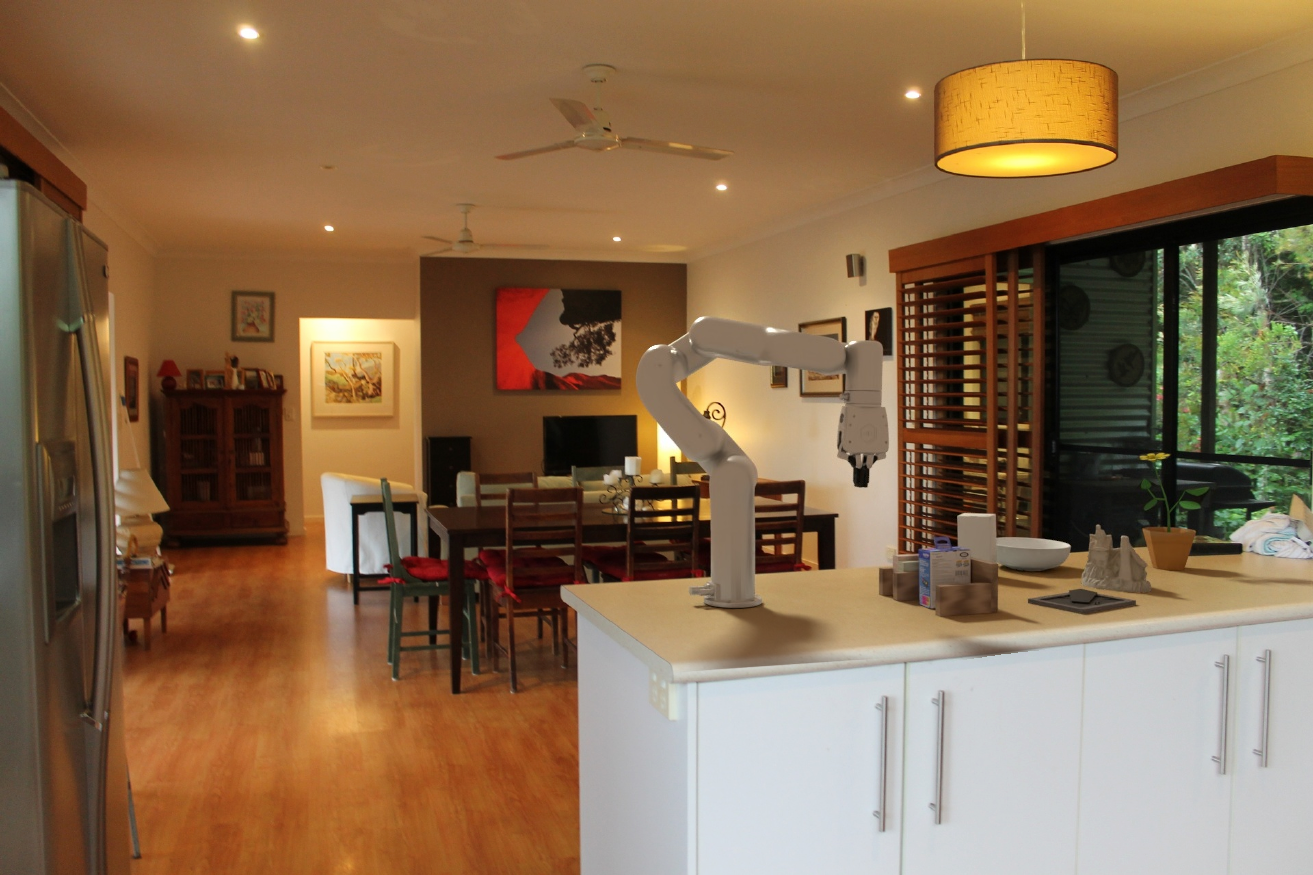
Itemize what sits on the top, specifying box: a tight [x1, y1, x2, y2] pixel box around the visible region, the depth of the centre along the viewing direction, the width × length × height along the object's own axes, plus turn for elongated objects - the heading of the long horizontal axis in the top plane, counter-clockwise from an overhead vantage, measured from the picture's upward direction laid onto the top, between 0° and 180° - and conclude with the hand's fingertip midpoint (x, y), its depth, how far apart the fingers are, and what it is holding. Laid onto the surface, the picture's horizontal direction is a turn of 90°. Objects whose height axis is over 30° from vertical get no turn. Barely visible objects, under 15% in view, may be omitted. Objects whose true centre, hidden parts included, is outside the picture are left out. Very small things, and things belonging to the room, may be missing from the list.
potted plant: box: [1135, 451, 1211, 571], centre depth 257 cm, size 18×19×30 cm
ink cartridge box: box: [918, 536, 971, 609], centre depth 210 cm, size 10×6×14 cm, turn 105°
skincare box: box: [956, 512, 998, 564], centre depth 245 cm, size 8×7×16 cm
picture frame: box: [1027, 588, 1137, 615], centre depth 211 cm, size 13×2×18 cm
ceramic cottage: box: [1080, 524, 1152, 594], centre depth 233 cm, size 16×16×15 cm
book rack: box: [878, 547, 999, 617], centre depth 213 cm, size 14×24×10 cm, turn 17°
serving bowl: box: [996, 536, 1072, 572], centre depth 258 cm, size 21×21×7 cm
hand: (860, 486), depth 208 cm, fingers closed
